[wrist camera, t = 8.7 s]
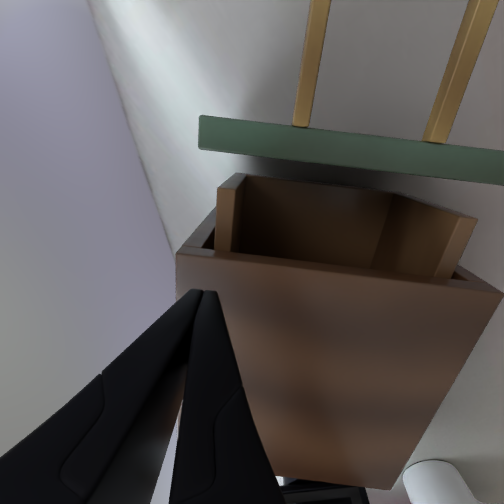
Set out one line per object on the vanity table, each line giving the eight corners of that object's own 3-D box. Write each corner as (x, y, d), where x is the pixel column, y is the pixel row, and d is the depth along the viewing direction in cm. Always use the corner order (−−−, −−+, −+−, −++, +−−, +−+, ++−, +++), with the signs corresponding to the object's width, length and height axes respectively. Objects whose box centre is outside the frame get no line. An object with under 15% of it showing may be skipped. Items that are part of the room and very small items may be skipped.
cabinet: (216, 205, 19) (174, 252, 11) (398, 227, 19) (506, 293, 10) (207, 354, 25) (176, 463, 16) (348, 371, 25) (391, 491, 16)
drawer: (234, 11, 14) (198, -141, 7) (463, 38, 14) (688, -87, 6) (215, 305, 21) (188, 388, 14) (363, 323, 21) (415, 418, 14)
